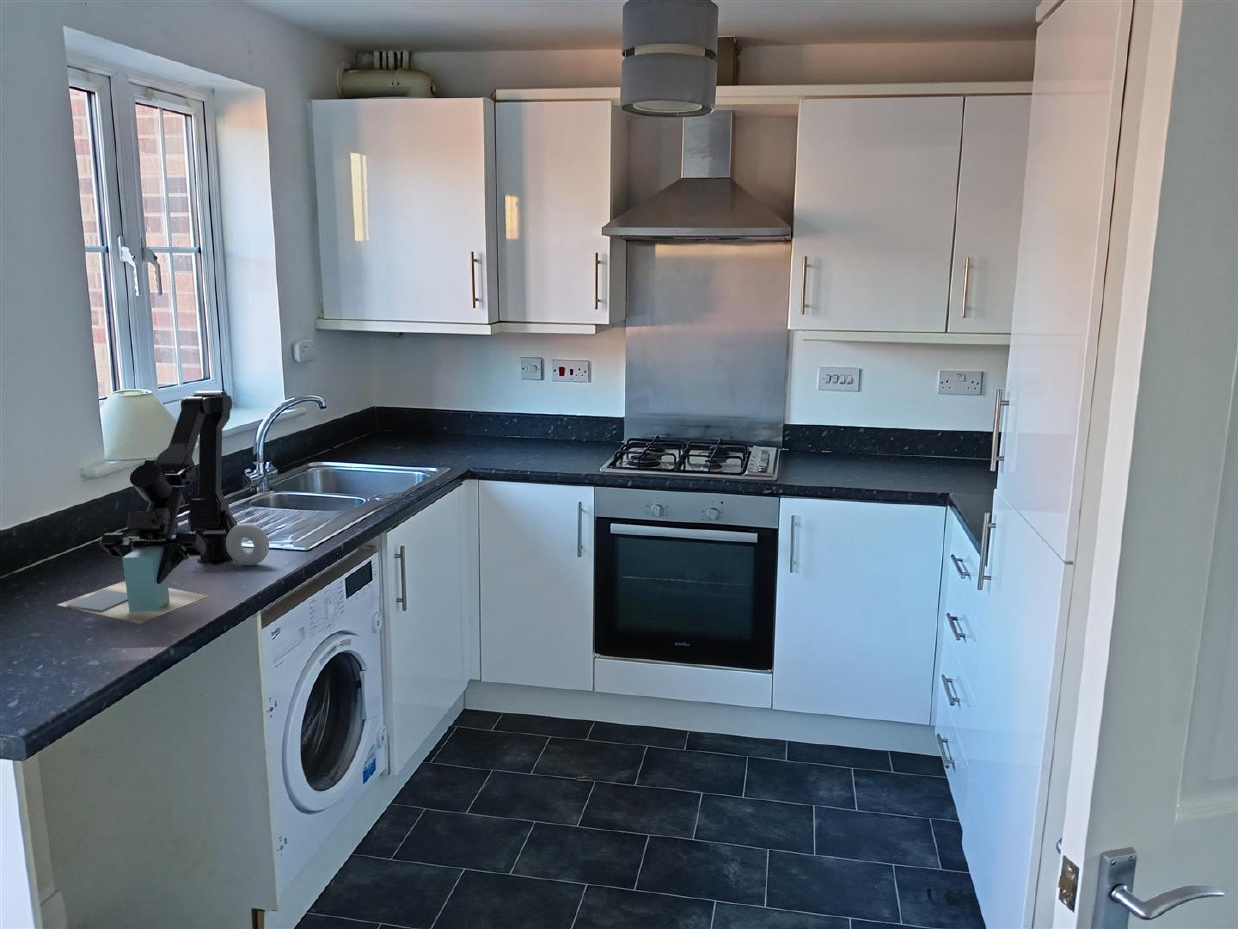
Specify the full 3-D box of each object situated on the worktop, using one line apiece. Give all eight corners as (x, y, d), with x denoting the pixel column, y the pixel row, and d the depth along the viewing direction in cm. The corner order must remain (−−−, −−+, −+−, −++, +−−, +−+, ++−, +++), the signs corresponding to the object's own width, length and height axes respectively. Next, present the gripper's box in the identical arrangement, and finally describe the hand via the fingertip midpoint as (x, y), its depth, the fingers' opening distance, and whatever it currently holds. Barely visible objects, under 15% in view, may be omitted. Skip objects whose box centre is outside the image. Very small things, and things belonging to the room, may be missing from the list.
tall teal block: (142, 601, 188) (135, 549, 186) (169, 601, 188) (163, 548, 186) (129, 611, 183) (122, 557, 180) (157, 611, 183) (150, 557, 180)
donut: (225, 567, 213) (220, 525, 211) (232, 562, 216) (228, 520, 214) (267, 568, 212) (263, 525, 210) (274, 563, 216) (270, 521, 213)
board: (128, 586, 201) (127, 573, 201) (209, 602, 191) (208, 588, 191) (57, 611, 187) (55, 597, 187) (140, 631, 177) (138, 616, 176)
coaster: (104, 591, 194) (103, 590, 194) (138, 596, 191) (138, 594, 191) (66, 607, 186) (66, 605, 185) (102, 612, 183) (101, 610, 183)
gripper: (97, 494, 184) (74, 565, 176) (193, 492, 185) (175, 564, 176) (122, 521, 194) (102, 591, 185) (213, 520, 194) (197, 589, 186)
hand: (143, 583), depth 183 cm, fingers closed on tall teal block, 5 cm apart
